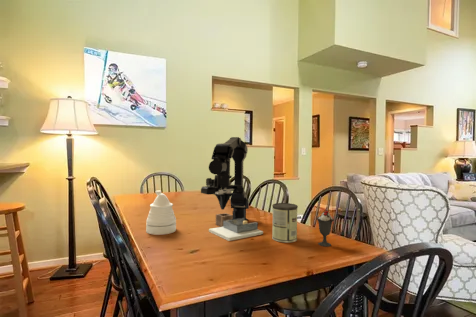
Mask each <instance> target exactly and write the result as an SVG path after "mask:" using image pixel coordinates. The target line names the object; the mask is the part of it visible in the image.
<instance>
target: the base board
mask: <svg viewBox="0 0 476 317" xmlns="http://www.w3.org/2000/svg"><path fill="white" fill-rule="evenodd" d="M247 223H248V220H245V221H243V224H247ZM208 232H209V233H211V234H212V235H216V236H217V237H219V238H221V239H224V240H226V241H228V242H229V241H236V240H240V239H246V238H250V237H256V236H260V235H263V234H264V231H263V230H260V229H259V228H258V229H256V230H251V231H246V232H241V233H236V232H233V231H231V230H228V229H226V228H224V227H220V226H218V227H213V228H209V229H208Z"/></svg>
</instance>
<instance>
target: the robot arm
mask: <svg viewBox="0 0 476 317" xmlns="http://www.w3.org/2000/svg"><path fill="white" fill-rule="evenodd" d="M247 154H248V145H247V143H246V142H244V141H243V140H242V139H241V137H239V136H235V137H234V136H231V137H229V139H228V140H226V141H225V142H222V143H217V144H215V146H214V148H213V151H212V155H211V160H212V161H210V162H209V164H208V170H209V172H210V173H211V174H213V175H214V179H212V178H211V177H208V178H206V179H205V185H203V186H201V188H200V194H204V195H209V196H210V195H214V196H215V197H216V198H217V201H218V204H219V206H220V209H221V210H222V211H223V210H225V208H226V207H227V204H228V202H230V209H232V215H233V219H239V218H245V221H248V219H249V218H247V210H249V209H250V205H249V200H248V197H247V192H246V191H245V187H244V161H245V159H246V158H247ZM231 159H232V160H233V161H234V162H233V163H234V184H231V179H232V175H231Z"/></svg>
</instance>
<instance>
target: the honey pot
mask: <svg viewBox="0 0 476 317" xmlns="http://www.w3.org/2000/svg"><path fill="white" fill-rule="evenodd" d="M155 194H156V197H155V198H154V200H153V202H152V203H150V204H149V207H150V209H149V211H148V215H147V218H146V221H145V222H146V226H145V229H146V230H145V232H146V233H147V234H149V235H155V236H159V235H168V234H169V235H170V234H172V233H174V232H176V231H177V218H176V215H175V213H174V212H175V211H174V209H173V206H174V203H172V202H171V201H170V200H169V198H168V196H167V195H166V194H165V193H162V190H155Z"/></svg>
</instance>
